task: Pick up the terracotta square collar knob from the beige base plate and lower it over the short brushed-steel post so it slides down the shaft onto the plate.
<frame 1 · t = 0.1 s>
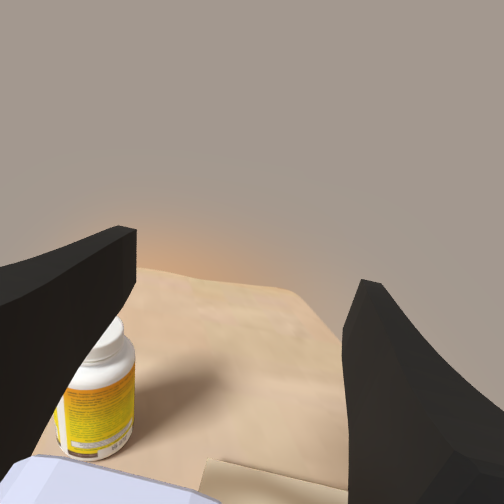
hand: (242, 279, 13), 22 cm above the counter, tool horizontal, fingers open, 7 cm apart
supplement bottle: (96, 433, 31), on the counter
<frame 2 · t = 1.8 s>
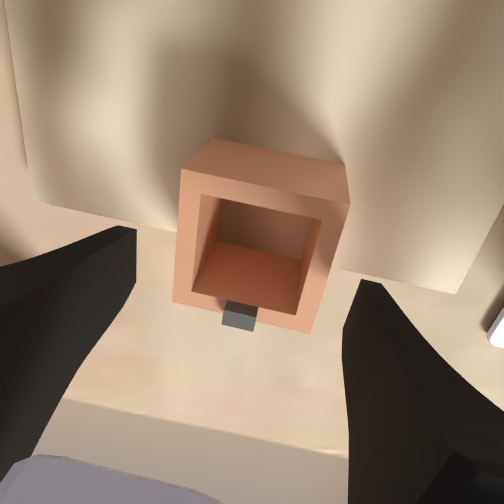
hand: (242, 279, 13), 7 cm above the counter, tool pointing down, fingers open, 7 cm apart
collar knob: (266, 211, 17), point 1 cm above the counter, touching beige base plate
beige base plate: (273, 52, 15), on the counter
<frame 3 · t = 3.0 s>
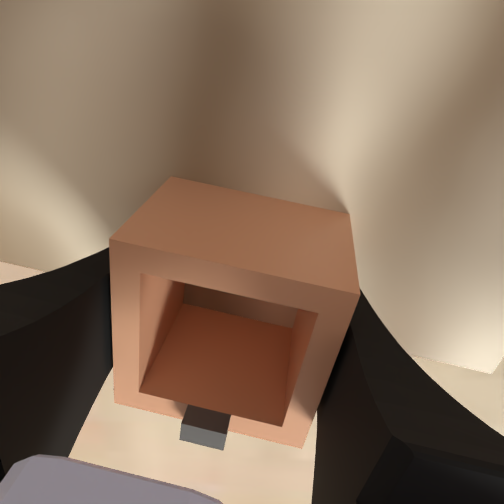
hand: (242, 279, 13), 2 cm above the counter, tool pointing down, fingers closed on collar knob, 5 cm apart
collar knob: (245, 269, 13), point 1 cm above the counter, touching gripper, beige base plate
beige base plate: (251, 62, 11), on the counter
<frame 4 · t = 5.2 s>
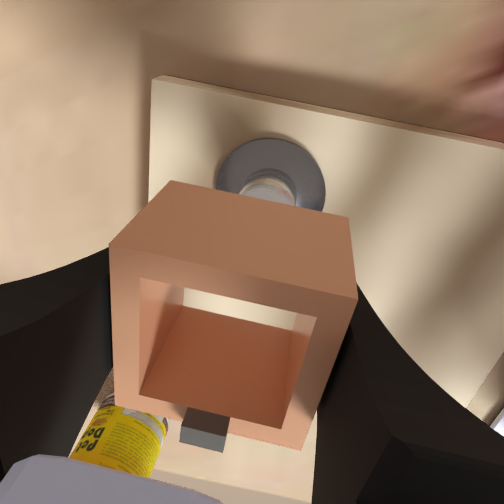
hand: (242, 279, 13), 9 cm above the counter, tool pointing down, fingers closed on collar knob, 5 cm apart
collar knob: (245, 272, 13), point 8 cm above the counter, touching gripper
beige base plate: (330, 263, 22), on the counter
steel post: (273, 181, 20), resting on beige base plate
supplement bottle: (138, 408, 32), on the counter
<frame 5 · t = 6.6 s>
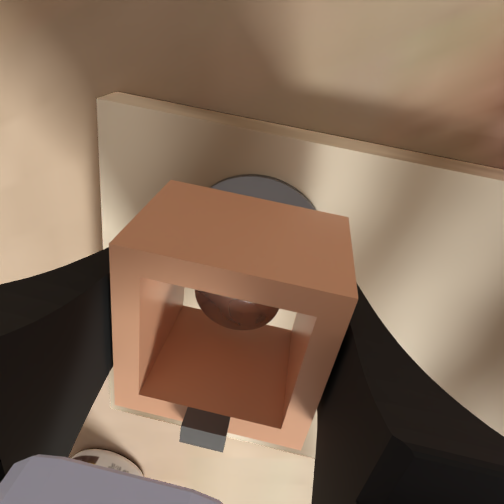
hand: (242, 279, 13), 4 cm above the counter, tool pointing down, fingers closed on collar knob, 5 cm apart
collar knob: (245, 272, 13), point 3 cm above the counter, touching gripper
beige base plate: (331, 320, 18), on the counter
steel post: (260, 223, 16), resting on beige base plate
supplement bottle: (111, 467, 27), on the counter
when the fingers open (4 cm above the counter, at t = 7.6 s): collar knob drops 2 cm, resting on steel post.
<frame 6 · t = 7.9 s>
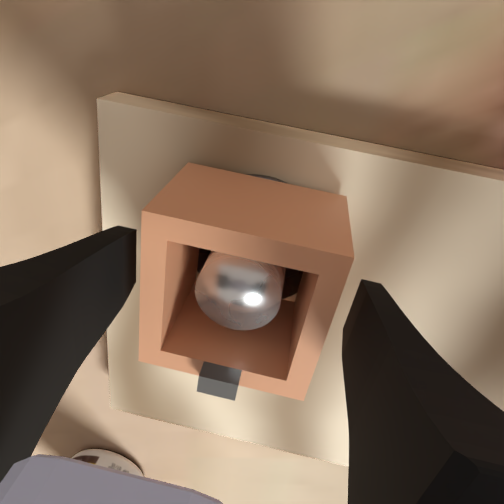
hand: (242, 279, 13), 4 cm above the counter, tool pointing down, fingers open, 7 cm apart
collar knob: (253, 247, 15), point 2 cm above the counter, touching steel post
beige base plate: (331, 320, 18), on the counter
steel post: (260, 223, 16), resting on beige base plate
supplement bottle: (111, 466, 27), on the counter
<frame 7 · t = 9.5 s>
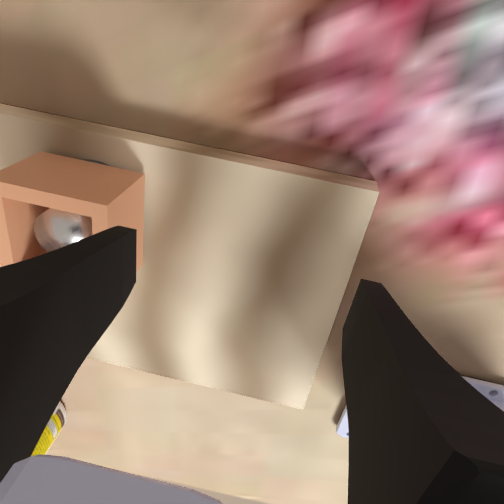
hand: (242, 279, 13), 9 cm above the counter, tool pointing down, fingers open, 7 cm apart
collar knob: (95, 210, 21), point 2 cm above the counter, touching steel post
beige base plate: (174, 268, 24), on the counter
steel post: (110, 196, 23), resting on beige base plate
supplement bottle: (40, 401, 34), on the counter
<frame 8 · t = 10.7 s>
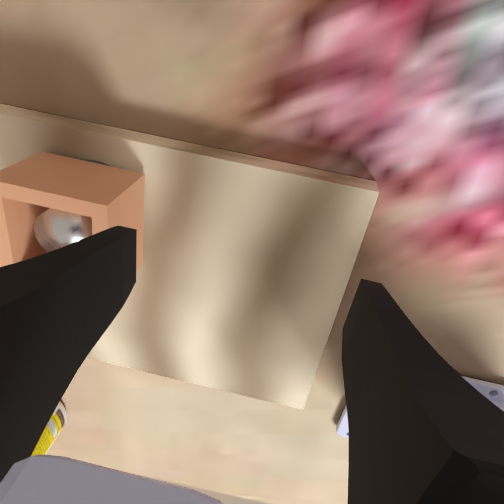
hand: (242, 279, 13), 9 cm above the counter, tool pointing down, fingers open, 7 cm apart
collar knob: (95, 210, 21), point 2 cm above the counter, touching steel post
beige base plate: (174, 268, 24), on the counter
steel post: (110, 196, 23), resting on beige base plate
supplement bottle: (40, 401, 34), on the counter
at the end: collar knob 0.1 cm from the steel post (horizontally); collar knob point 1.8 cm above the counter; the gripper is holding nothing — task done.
